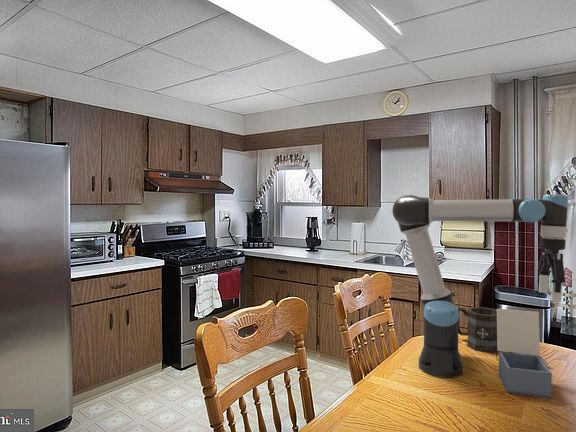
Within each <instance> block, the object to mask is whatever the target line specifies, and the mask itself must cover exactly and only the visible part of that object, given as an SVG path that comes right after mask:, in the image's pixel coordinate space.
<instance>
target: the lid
mask: <svg viewBox="0 0 576 432" xmlns="http://www.w3.org/2000/svg"><path fill="white" fill-rule="evenodd" d="M496 310H497V351H501V352H504V353H509V352H513V353H523V354H533V355H541V348H540V346H541V345H540V342H541V341H540V316H539V315H540V312H539V311H532V310H520V309H507V308H506V309H505V308H496Z"/></svg>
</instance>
